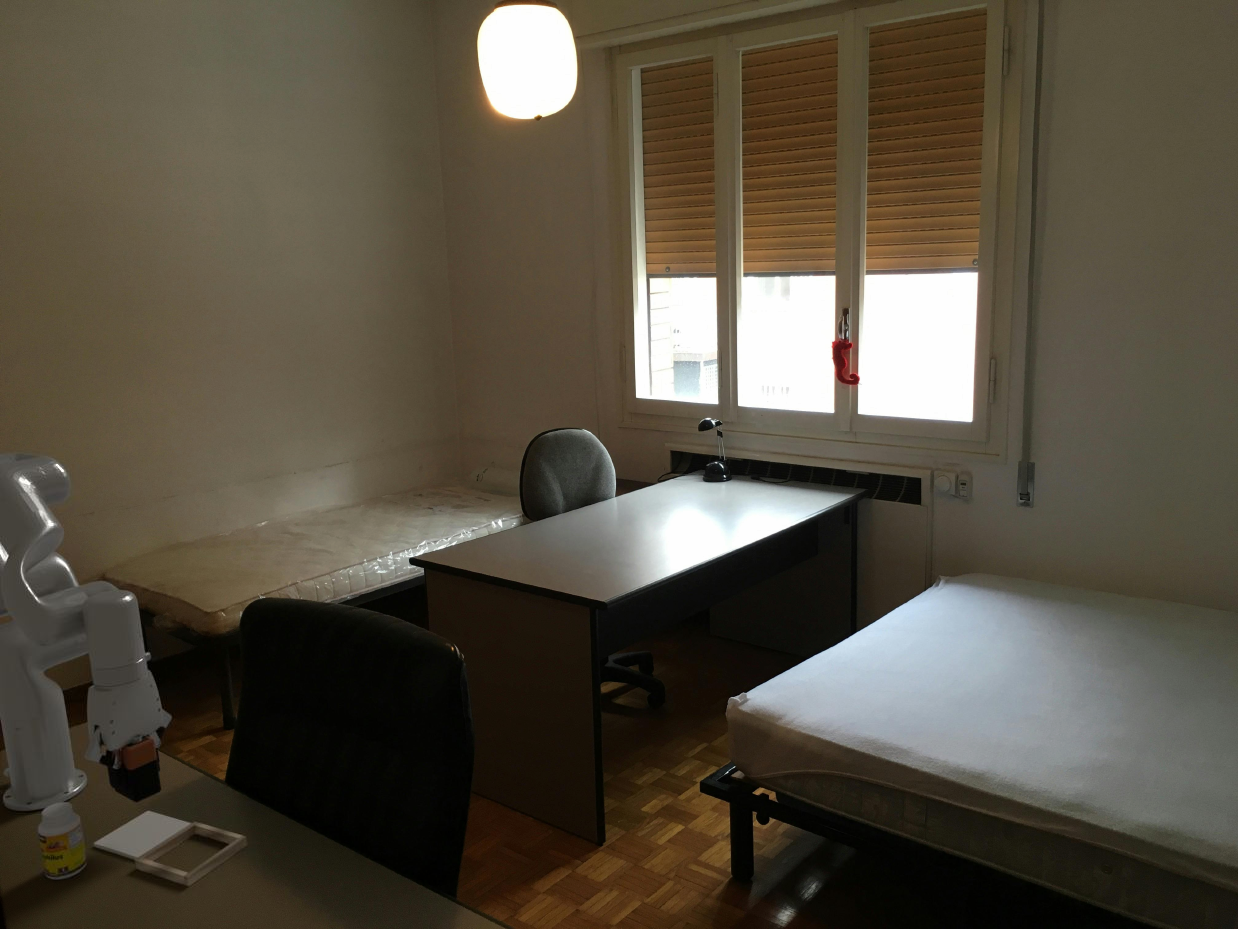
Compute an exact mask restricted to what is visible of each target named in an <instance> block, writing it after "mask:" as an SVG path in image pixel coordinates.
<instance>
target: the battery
mask: <svg viewBox="0 0 1238 929" xmlns="http://www.w3.org/2000/svg"><path fill="white" fill-rule="evenodd" d="M132 741H134V742H132V743H131V744H129V745H127V746H125V747H123V755H122V764H121V765H123V766H125V768H126V774H127V780H128V789H127V790H126V791H122V790H118V789H114V791H115V792H116V793H118V794H120V795H122V796H124V797H125V798H127V799H128V800H130V801H132V802H134V803H139V802H141V801H143V800H145V799H148V798H150V797H152V796H154V795H156V794H159V793H160V792H161V791H162V784H161V779H160V771H159V770H158V763H157V756H156V749H155V743H154V739H152V738H150V737H148V736H144V737H142V734H141V736H140V737H137V738H135V739H132ZM113 754H114V751H113ZM113 754H112V758H113Z"/></svg>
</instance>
